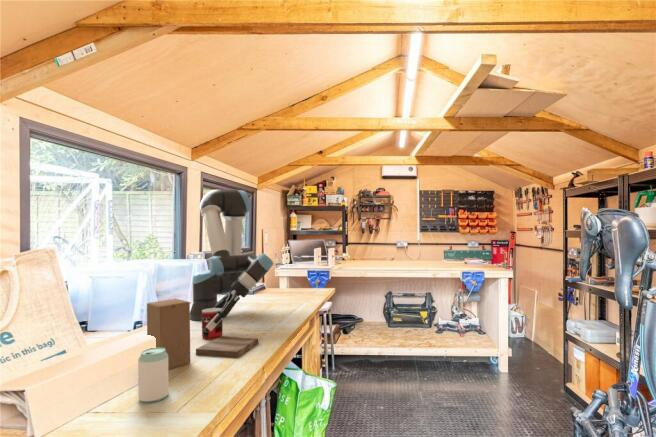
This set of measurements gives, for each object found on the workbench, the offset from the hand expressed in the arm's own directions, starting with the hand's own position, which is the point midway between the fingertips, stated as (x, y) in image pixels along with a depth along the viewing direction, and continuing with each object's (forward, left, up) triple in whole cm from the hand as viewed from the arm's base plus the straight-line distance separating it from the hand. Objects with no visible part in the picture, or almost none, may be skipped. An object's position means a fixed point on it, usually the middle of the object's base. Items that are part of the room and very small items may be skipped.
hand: (206, 325), depth 151 cm
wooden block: (+30, +6, -5) cm, 31 cm away
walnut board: (+12, +17, -5) cm, 21 cm away
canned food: (-1, +2, -5) cm, 6 cm away
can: (+52, +19, -5) cm, 55 cm away
